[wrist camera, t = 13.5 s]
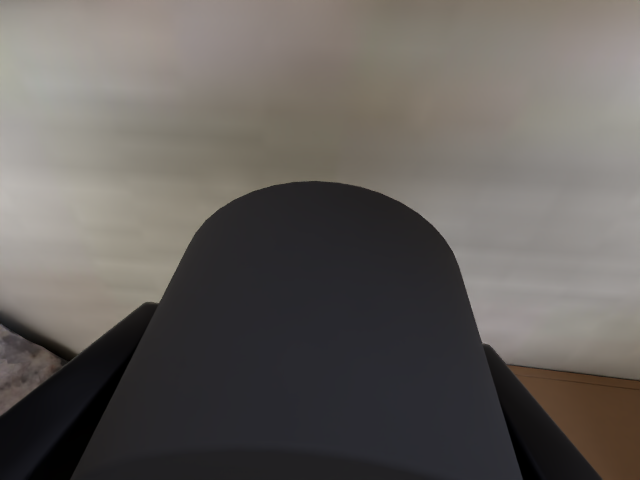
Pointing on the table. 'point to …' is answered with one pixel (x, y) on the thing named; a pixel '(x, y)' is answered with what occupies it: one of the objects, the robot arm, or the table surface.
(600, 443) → the carton
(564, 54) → the table surface
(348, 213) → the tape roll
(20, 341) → the geode
